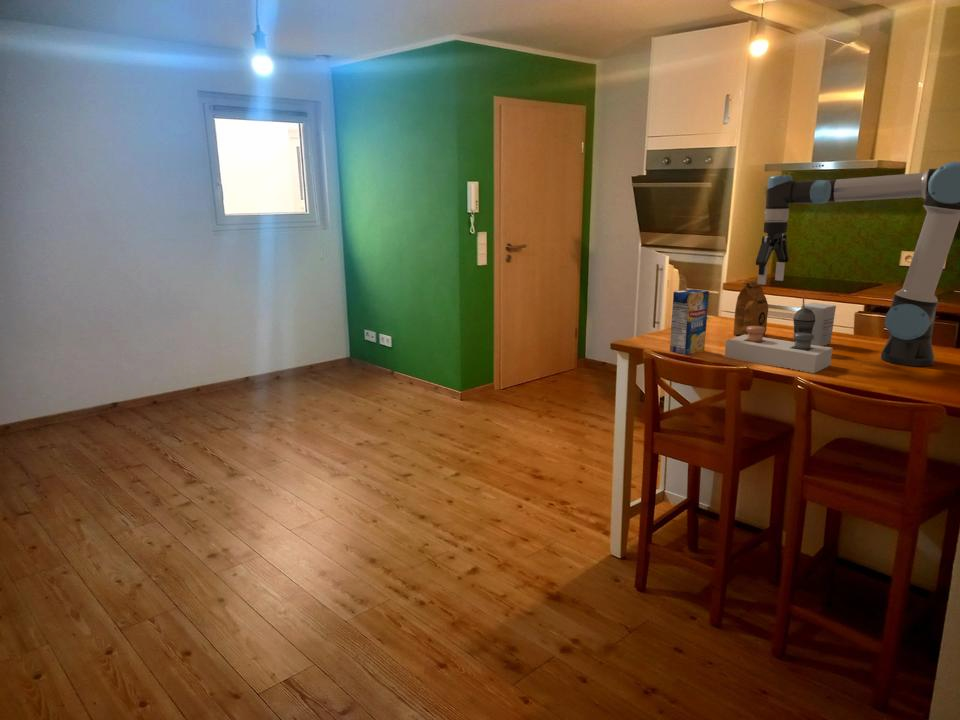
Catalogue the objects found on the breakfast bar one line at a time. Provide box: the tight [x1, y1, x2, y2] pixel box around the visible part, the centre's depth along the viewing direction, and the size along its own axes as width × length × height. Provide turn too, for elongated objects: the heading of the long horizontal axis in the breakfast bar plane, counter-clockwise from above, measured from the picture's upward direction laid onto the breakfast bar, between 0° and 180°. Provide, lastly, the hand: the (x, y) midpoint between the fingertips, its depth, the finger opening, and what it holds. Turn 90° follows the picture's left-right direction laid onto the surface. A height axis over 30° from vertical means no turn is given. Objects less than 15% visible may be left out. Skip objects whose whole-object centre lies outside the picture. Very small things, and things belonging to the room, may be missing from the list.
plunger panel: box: [724, 334, 833, 374], centre depth 221 cm, size 30×14×6 cm, turn 43°
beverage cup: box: [792, 295, 816, 342], centre depth 233 cm, size 7×7×20 cm
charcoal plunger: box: [792, 332, 814, 351], centre depth 214 cm, size 6×6×6 cm
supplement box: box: [800, 302, 837, 347], centre depth 245 cm, size 9×9×15 cm
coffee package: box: [733, 280, 769, 336], centre depth 259 cm, size 10×12×22 cm
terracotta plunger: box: [746, 326, 766, 343], centre depth 226 cm, size 6×6×6 cm
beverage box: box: [669, 288, 710, 356], centre depth 234 cm, size 7×11×22 cm, turn 124°
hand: (770, 282), depth 231 cm, fingers open, 13 cm apart
